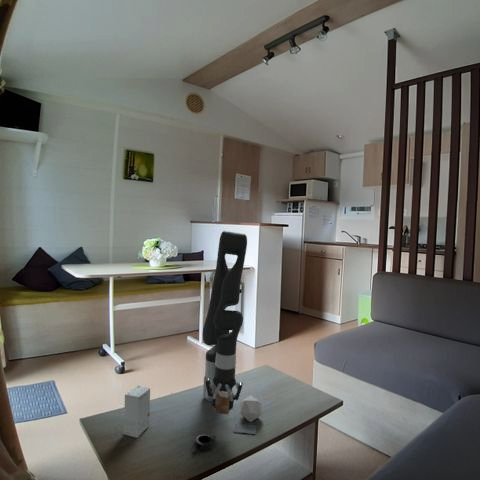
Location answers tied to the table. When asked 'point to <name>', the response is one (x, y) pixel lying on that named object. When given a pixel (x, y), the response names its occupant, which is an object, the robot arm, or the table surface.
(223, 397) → the brown rectangular block
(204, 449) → the black round bracket
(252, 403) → the die
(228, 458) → the table surface
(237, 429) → the pad
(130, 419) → the skincare box
